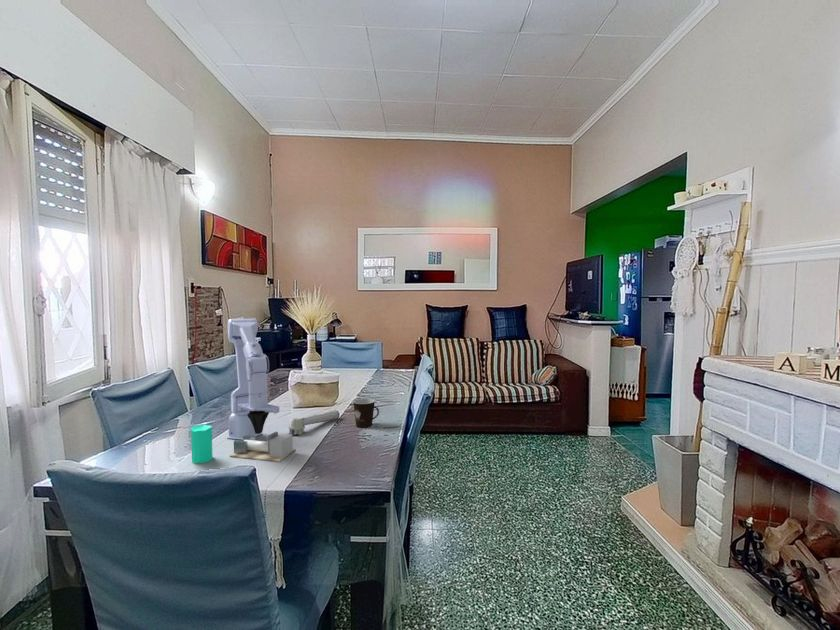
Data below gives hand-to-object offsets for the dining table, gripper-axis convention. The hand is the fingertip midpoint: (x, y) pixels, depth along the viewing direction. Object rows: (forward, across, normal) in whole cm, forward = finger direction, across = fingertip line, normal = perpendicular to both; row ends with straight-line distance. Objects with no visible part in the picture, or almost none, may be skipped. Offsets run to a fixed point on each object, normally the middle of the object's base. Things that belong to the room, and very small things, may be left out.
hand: (258, 432), depth 136 cm
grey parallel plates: (+7, -5, 0) cm, 9 cm away
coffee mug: (+7, +25, +34) cm, 42 cm away
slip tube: (+6, +2, 0) cm, 6 cm away
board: (+7, +2, 0) cm, 7 cm away
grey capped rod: (+7, +5, +29) cm, 31 cm away
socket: (+7, +8, 0) cm, 11 cm away
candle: (+7, -14, -9) cm, 18 cm away
